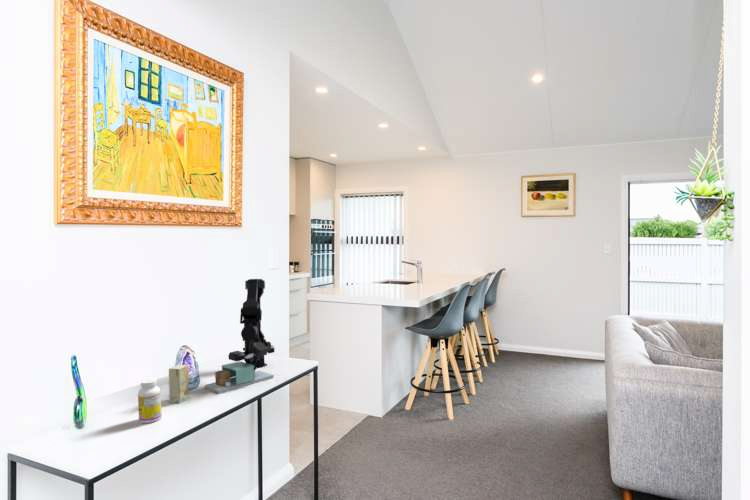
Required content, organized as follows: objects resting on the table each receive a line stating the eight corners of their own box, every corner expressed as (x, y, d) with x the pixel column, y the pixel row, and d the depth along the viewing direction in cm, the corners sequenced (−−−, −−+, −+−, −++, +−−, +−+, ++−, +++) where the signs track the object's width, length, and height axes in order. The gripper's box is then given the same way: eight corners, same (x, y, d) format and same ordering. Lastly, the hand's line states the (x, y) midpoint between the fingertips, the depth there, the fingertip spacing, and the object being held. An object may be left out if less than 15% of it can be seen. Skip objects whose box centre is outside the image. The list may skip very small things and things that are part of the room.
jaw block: (215, 384, 184) (215, 371, 184) (224, 382, 187) (224, 369, 187) (221, 386, 182) (220, 373, 182) (230, 384, 185) (229, 371, 185)
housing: (222, 379, 190) (221, 365, 190) (239, 374, 196) (239, 361, 196) (236, 384, 183) (236, 369, 183) (254, 379, 189) (254, 365, 189)
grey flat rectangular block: (204, 388, 184) (204, 381, 184) (259, 373, 203) (258, 367, 203) (218, 393, 177) (218, 386, 177) (273, 377, 196) (273, 371, 196)
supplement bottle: (140, 418, 155) (138, 379, 155) (162, 414, 157) (160, 376, 157) (137, 425, 149) (136, 385, 148) (160, 422, 151) (159, 382, 151)
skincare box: (180, 403, 168) (178, 369, 168) (169, 402, 169) (167, 369, 168) (190, 397, 175) (188, 364, 174) (179, 396, 175) (178, 364, 175)
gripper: (242, 342, 182) (244, 382, 182) (281, 333, 196) (283, 371, 196) (227, 338, 189) (228, 377, 190) (265, 330, 203) (267, 366, 204)
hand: (252, 373), depth 195 cm, fingers closed
